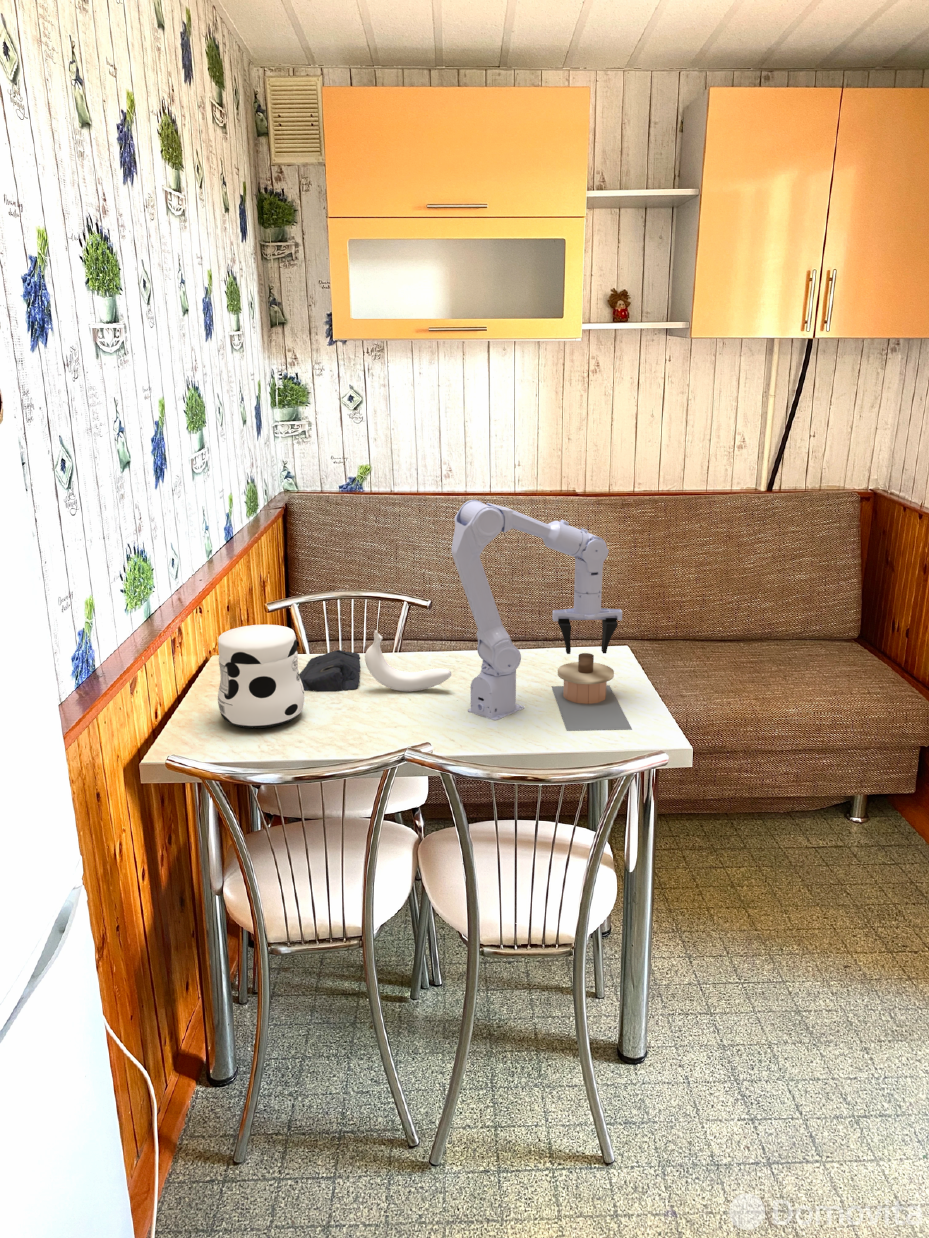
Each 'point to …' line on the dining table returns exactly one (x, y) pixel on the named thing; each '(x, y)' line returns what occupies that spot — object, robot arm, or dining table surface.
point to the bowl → (584, 692)
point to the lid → (585, 671)
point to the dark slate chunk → (332, 672)
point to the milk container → (259, 676)
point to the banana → (400, 672)
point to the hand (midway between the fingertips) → (586, 652)
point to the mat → (591, 713)
